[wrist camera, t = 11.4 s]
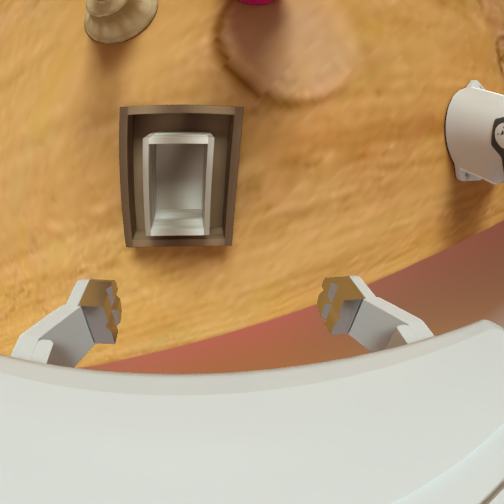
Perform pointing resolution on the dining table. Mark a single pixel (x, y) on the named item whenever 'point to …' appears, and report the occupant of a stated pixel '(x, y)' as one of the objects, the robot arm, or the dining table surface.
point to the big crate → (223, 171)
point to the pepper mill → (256, 2)
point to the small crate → (177, 182)
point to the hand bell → (118, 19)
